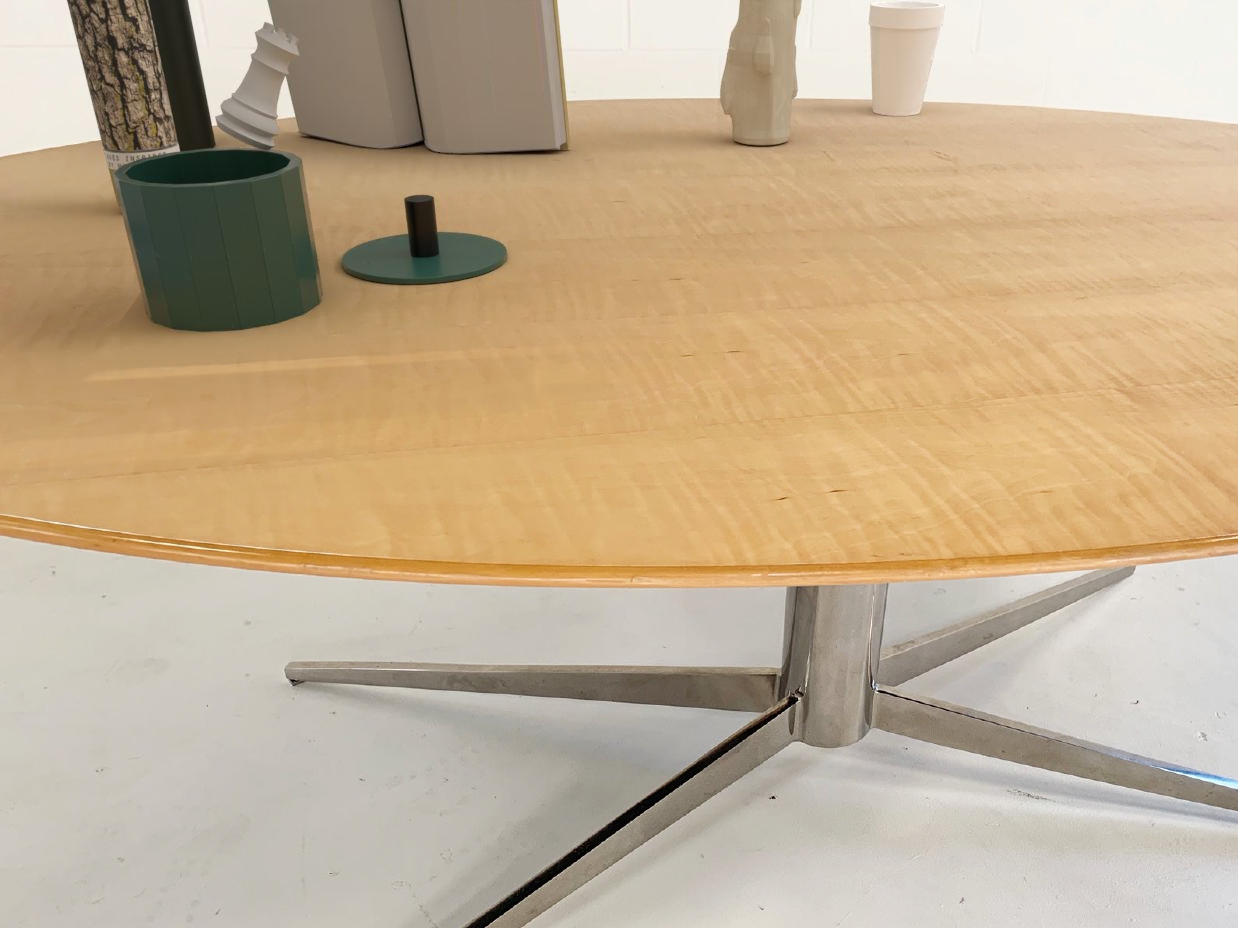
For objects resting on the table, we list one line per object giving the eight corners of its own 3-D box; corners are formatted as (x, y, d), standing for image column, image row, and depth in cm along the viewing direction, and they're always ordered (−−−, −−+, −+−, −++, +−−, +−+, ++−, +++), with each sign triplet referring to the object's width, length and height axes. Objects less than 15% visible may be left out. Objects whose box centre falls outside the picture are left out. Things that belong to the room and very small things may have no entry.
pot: (132, 343, 81) (93, 190, 76) (168, 289, 92) (136, 150, 86) (314, 333, 83) (289, 182, 77) (329, 280, 93) (308, 144, 88)
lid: (337, 296, 90) (326, 223, 87) (349, 248, 101) (340, 182, 98) (511, 287, 91) (506, 215, 88) (504, 240, 103) (499, 176, 100)
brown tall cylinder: (199, 208, 113) (138, -85, 100) (128, 219, 110) (54, -83, 97) (180, 195, 118) (119, -87, 105) (111, 205, 115) (39, -85, 102)
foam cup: (944, 110, 156) (957, 3, 149) (909, 120, 150) (921, 9, 143) (883, 103, 161) (894, -1, 154) (847, 112, 155) (856, 5, 149)
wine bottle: (205, 151, 137) (146, -148, 121) (158, 151, 137) (92, -148, 121) (222, 142, 141) (167, -148, 125) (176, 141, 142) (115, -147, 126)
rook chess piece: (250, 134, 87) (288, 30, 85) (285, 158, 86) (324, 53, 83) (200, 116, 84) (238, 7, 81) (235, 141, 82) (275, 30, 79)
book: (575, 145, 137) (553, -90, 121) (550, 168, 131) (523, -75, 116) (313, 128, 147) (261, -89, 132) (279, 149, 142) (221, -76, 126)
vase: (774, 151, 135) (790, -154, 119) (709, 144, 138) (716, -153, 122) (803, 138, 141) (822, -153, 125) (740, 131, 144) (751, -152, 129)
